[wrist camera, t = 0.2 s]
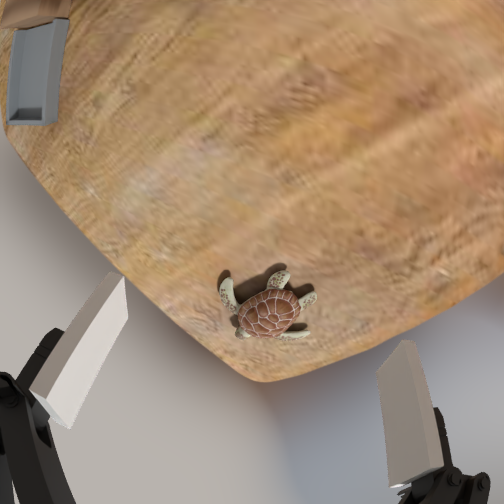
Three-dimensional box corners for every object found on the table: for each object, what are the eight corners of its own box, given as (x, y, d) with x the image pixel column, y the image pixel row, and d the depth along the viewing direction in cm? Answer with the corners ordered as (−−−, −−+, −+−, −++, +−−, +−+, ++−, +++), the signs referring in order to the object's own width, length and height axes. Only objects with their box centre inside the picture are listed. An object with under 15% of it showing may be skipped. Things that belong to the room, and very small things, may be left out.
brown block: (37, -8, 22) (9, -10, 16) (78, -21, 22) (49, -28, 16) (28, 27, 25) (-1, 28, 20) (68, 17, 26) (37, 15, 20)
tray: (26, 30, 26) (14, 31, 23) (69, 20, 26) (56, 18, 23) (18, 120, 35) (6, 125, 32) (57, 121, 35) (44, 125, 32)
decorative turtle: (198, 303, 51) (190, 322, 47) (257, 242, 43) (253, 262, 39) (275, 351, 56) (273, 371, 52) (340, 306, 48) (343, 327, 44)
